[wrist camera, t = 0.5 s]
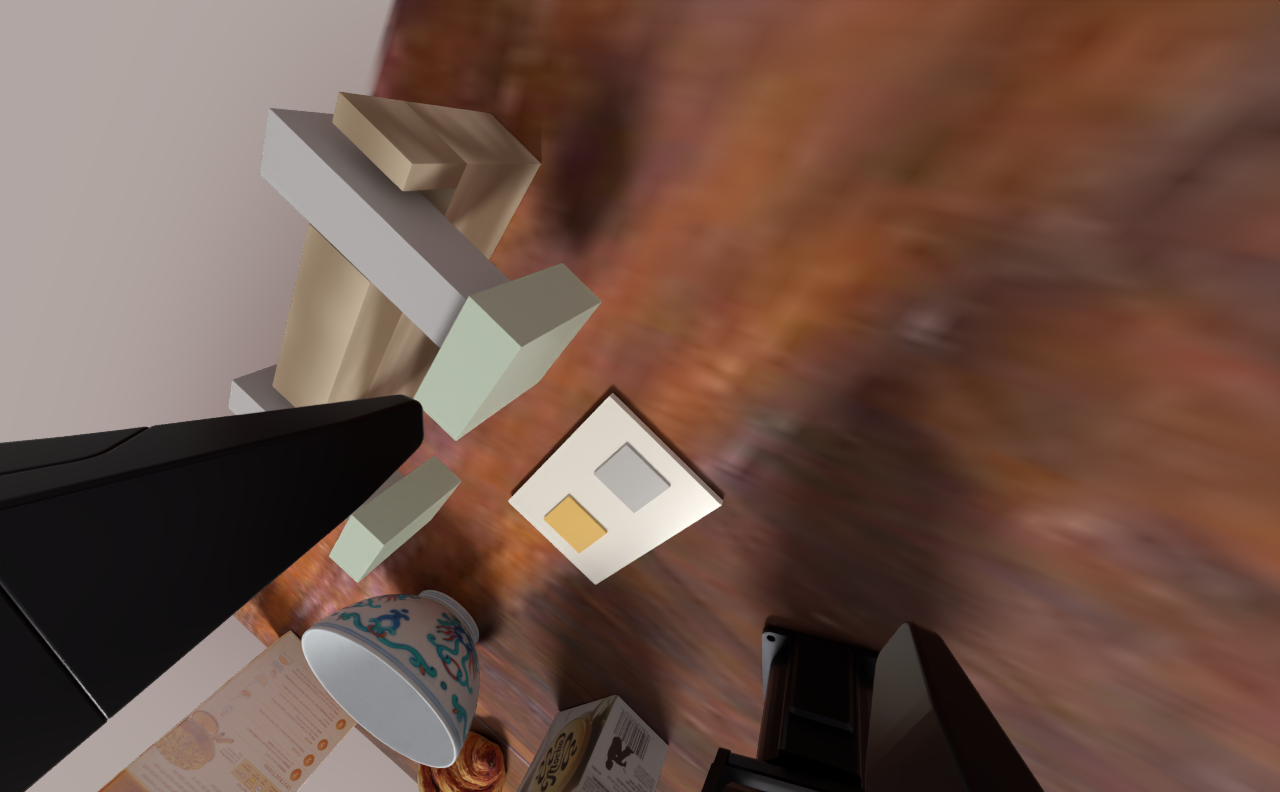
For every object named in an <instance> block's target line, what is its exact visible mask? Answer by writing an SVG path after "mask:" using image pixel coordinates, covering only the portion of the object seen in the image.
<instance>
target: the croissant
mask: <svg viewBox="0 0 1280 792" xmlns="http://www.w3.org/2000/svg"><path fill="white" fill-rule="evenodd" d="M505 775H506V772H505V767H504V758H503V754H502V751H501V749H500V747H499V746H498V745H497V744H495V743H493V742H491V741H489V740H488V739H487V738H486V737H483V736H481V735H480V734H477V733H475V732H473V731H469V732H468V735H467V737H466V740H465V742H464V744H463V747H462V749H461V751H460V753H459V755H458V757H457V759H456V761H455V762H454V763H453V764H452V765H451V766H449V767H445V768H436V767H431V766H427V765H424V764H421V763H419V766H418V772H417V781H418V788H419V791H420V792H501V791H502V789H503V786H504V782H505Z"/></svg>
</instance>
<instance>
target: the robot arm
mask: <svg viewBox="0 0 1280 792" xmlns="http://www.w3.org/2000/svg"><path fill="white" fill-rule="evenodd" d="M423 440H424V419H423V407H422V405H421V403H420V402H419V401H417V400H415V399H413V398H411V397H408V396H406V395H403V394H397V395H389V396H381V397H373V398H366V399H358V400H350V401H342V402H334V403H327V404H319V405H311V406H303V407H295V408H288V409H280V410H272V411H264V412H256V413H249V414H241V415H233V416H225V417H218V418H210V419H202V420H194V421H186V422H178V423H171V424H164V425H155V426H152V427H150V428H149V427H138V428H131V429H124V430H115V431H107V432H99V433H90V434H81V435H73V436H64V437H55V438H45V439H35V440H24V441H14V442H5V443H0V792H25V791H26V790H27V789H28V788H30V787H31V786H32V785H33V784H34V783H35V782H37V781H38V780H39V779H40V778H41V777H43V776H44V775H45V774H46V773H47V772H48V771H50V770H51V769H52V768H53V767H54V766H56V765H57V764H58V763H59V762H60V761H61V760H63V759H64V758H65V757H66V756H67V755H68V754H70V753H71V752H72V751H73V750H74V749H76V748H77V747H78V746H79V745H80V744H81V743H83V742H84V741H85V740H86V739H87V738H89V737H90V736H91V735H92V734H93V733H94V732H96V731H97V730H98V729H99V728H100V727H102V726H103V725H104V724H105V723H106V722H107V719H109V718H111V717H113V716H114V715H115V714H116V713H117V712H119V711H120V710H121V709H122V708H123V707H125V706H126V705H127V704H128V703H129V702H130V701H132V700H133V699H134V698H135V697H136V696H137V695H139V694H140V693H141V692H142V691H143V690H144V689H145V688H147V687H148V686H149V685H150V684H152V683H153V682H154V681H155V680H156V679H158V678H159V677H160V676H161V675H162V674H163V673H165V672H166V671H167V670H168V669H169V668H170V667H172V666H173V665H174V664H175V663H176V662H177V661H179V660H180V659H181V658H182V657H184V656H185V655H186V654H187V653H188V652H189V651H191V650H192V649H193V648H194V647H195V646H196V645H198V644H199V643H200V642H201V641H202V640H204V639H205V638H206V637H207V636H208V635H209V634H211V633H212V632H213V631H214V630H215V629H216V628H218V627H219V626H220V625H221V624H222V623H223V622H225V621H226V620H227V619H228V618H229V617H231V616H232V615H233V614H234V613H235V612H237V611H238V610H239V609H240V608H241V607H243V606H244V605H245V604H246V603H247V602H248V601H250V600H251V599H252V598H253V597H254V596H255V595H257V594H258V593H259V592H260V591H261V590H263V589H264V588H265V587H266V586H267V585H268V584H270V583H271V582H272V581H273V580H274V579H276V578H277V577H278V576H279V575H280V574H281V573H283V572H284V571H285V570H286V569H287V568H289V567H290V566H291V565H292V564H293V563H294V562H296V561H297V560H298V559H299V558H300V557H301V556H303V555H304V554H305V553H306V552H307V551H309V550H310V549H311V548H312V547H313V546H314V545H316V544H317V543H318V542H319V541H320V540H322V539H323V538H324V537H325V536H326V535H327V534H329V533H330V532H331V531H332V530H333V529H335V528H336V527H337V526H338V525H339V524H340V523H342V522H343V521H344V520H345V519H346V518H348V517H349V516H350V515H351V514H352V513H353V512H355V511H356V510H357V509H358V508H359V507H360V506H361V505H362V504H364V503H365V502H366V501H367V500H368V499H369V498H370V497H371V496H372V495H373V494H374V493H375V492H376V491H377V490H378V489H379V488H380V487H381V486H382V485H383V484H384V483H385V482H386V481H387V480H388V479H389V478H390V477H391V476H392V474H393V473H394V472H395V471H396V470H397V469H398V468H399V467H400V466H401V465H402V464H403V463H404V462H405V461H406V460H407V459H408V458H409V457H410V456H411V455H412V454H413V453H414V452H415V451H416V450H417V449H418V448H419V447H420V445H421V444H422V442H423ZM762 663H763V698H764V700H765V703H764V710H763V716H762V723H761V730H760V736H759V743H758V750H757V757H756V759H754V758H750V757H746V756H743V755H739V754H735V753H731V751H730V750H728V749H725V748H721V747H719V749H718V752H717V755H716V757H715V760H714V763H712V764H711V767H710V770H709V772H708V775H707V778H706V780H705V783H704V786H703V789H702V791H701V792H1044V790H1043V789H1042V787H1041V786H1040V784H1039V783H1038V781H1037V780H1036V778H1035V777H1034V775H1033V774H1032V772H1031V771H1030V769H1029V768H1028V766H1027V765H1026V763H1025V762H1024V760H1023V759H1022V757H1021V756H1020V754H1019V753H1018V751H1017V750H1016V748H1015V747H1014V745H1013V744H1012V742H1011V741H1010V739H1009V738H1008V736H1007V735H1006V733H1005V732H1004V730H1003V729H1002V727H1001V726H1000V724H999V723H998V721H997V720H996V718H995V717H994V715H993V714H992V712H991V711H990V709H989V708H988V706H987V705H986V703H985V702H984V700H983V699H982V697H981V696H980V694H979V693H978V691H977V690H976V688H975V687H974V685H973V684H972V682H971V681H970V679H969V678H968V676H967V675H966V673H965V672H964V670H963V669H962V667H961V666H960V664H959V663H958V661H957V660H956V658H955V657H954V655H953V654H952V652H951V651H950V649H949V648H948V646H947V645H946V643H945V642H944V640H943V639H942V638H941V637H940V636H939V635H938V634H937V633H936V632H934V631H932V630H930V629H927V628H925V627H923V626H921V625H919V624H916V623H914V622H910V621H907V622H905V623H903V624H902V625H901V626H900V627H899V628H898V630H897V631H896V632H895V633H894V635H893V636H892V637H891V638H890V640H889V641H888V642H887V643H886V645H885V646H884V647H883V649H882V650H881V651H880V652H876V651H872V650H867V649H863V648H859V647H855V646H851V645H847V644H843V643H838V642H834V641H830V640H826V639H822V638H818V637H814V636H809V635H805V634H801V633H797V632H793V631H789V630H785V629H780V628H776V627H772V626H766V627H764V629H763V633H762Z"/></svg>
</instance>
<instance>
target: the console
mask: <svg viewBox="0 0 1280 792" xmlns="http://www.w3.org/2000/svg"><path fill="white" fill-rule="evenodd" d="M332 123H333V124H334V125H335V126H336V127H337V128H338V129H339V130H340V131H341V132H342V133H344V134H345V135H346V136H347V137H348V138H349V139H350V140H351V141H352V142H353V143H354V144H355V145H356V146H357V147H358V148H359V149H360V150H361V151H362V152H363V153H364V154H365V155H366V156H367V157H368V158H369V159H370V160H371V161H372V162H373V163H374V164H375V165H376V166H377V167H378V168H379V169H380V170H381V171H382V172H383V173H384V174H385V175H386V176H387V177H388V178H389V179H391V180H392V181H393V182H394V183H395V184H396V185H397V186H398V187H399V188H400V189H401V190H402V191H415V190H418V191H419V192H420V193H421V194H422V195H423V196H424V197H425V198H426V199H427V200H428V201H429V202H430V203H431V204H432V205H433V206H434V207H435V208H436V209H437V210H438V211H439V212H441V213H442V214H443V215H444V216H445V217H446V218H447V219H448V220H449V221H450V222H451V223H452V224H453V225H454V226H455V227H456V228H457V229H458V230H459V231H460V232H461V233H462V234H463V235H464V236H465V237H466V238H467V239H468V240H469V241H470V242H471V243H472V244H473V245H474V246H475V247H476V248H477V249H478V250H479V251H480V252H481V253H482V254H483V255H484V256H485V257H486V258H487V259H488V260H489V259H490V257H491V255H492V253H493V252H494V250H495V248H496V246H497V244H498V242H499V241H500V239H501V237H502V235H503V233H504V231H505V229H506V228H507V226H508V224H509V222H510V220H511V218H512V217H513V215H514V213H515V211H516V209H517V207H518V206H519V204H520V202H521V200H522V198H523V196H524V194H525V193H526V191H527V189H528V187H529V185H530V183H531V182H532V180H533V178H534V176H535V174H536V172H537V170H538V169H539V167H540V165H541V163H540V162H539V161H538V160H537V159H536V158H535V157H534V156H533V155H532V154H531V153H530V152H529V151H528V150H527V149H526V148H525V147H524V146H523V145H522V144H521V143H520V142H519V141H518V140H517V139H516V138H515V137H514V136H513V135H512V134H511V133H510V132H509V131H508V130H507V129H506V128H505V127H504V126H503V125H502V124H501V123H500V122H499V121H498V120H497V119H496V118H495V117H494V116H493V115H492V114H491V113H485V112H478V111H471V110H464V109H457V108H450V107H443V106H436V105H429V104H422V103H415V102H408V101H401V100H394V99H387V98H380V97H373V96H366V95H359V94H351V93H345V92H339V94H338V99H337V103H336V107H335V112H334V116H333V121H332ZM439 350H440V348H439V347H438V346H437V345H436V344H435V343H434V342H433V341H432V340H431V339H430V338H429V337H428V336H427V335H426V334H425V333H424V332H423V331H422V330H421V329H419V328H418V327H417V326H416V325H415V324H414V323H413V322H412V321H411V320H410V319H409V318H408V317H407V316H406V315H405V314H404V313H403V312H402V311H401V310H400V309H399V308H398V307H397V306H396V305H395V304H394V303H393V302H392V301H390V300H389V299H388V298H387V297H386V296H385V295H384V294H383V293H382V292H381V291H380V290H379V289H378V288H377V287H376V286H375V285H374V284H373V283H372V282H371V281H370V280H369V279H368V278H367V277H366V276H365V275H364V274H363V273H361V272H360V271H359V270H358V269H357V268H356V267H355V266H354V265H353V264H352V263H351V262H350V261H349V260H348V259H347V258H346V257H345V256H344V255H343V254H342V253H341V252H340V251H339V250H338V249H337V248H336V247H335V246H334V245H333V244H331V243H330V242H329V241H328V240H327V239H326V238H325V237H324V236H323V235H322V234H321V233H320V232H319V231H318V230H317V229H316V228H315V227H314V226H313V225H312V224H309V226H308V231H307V235H306V240H305V244H304V248H303V253H302V257H301V262H300V267H299V270H298V275H297V279H296V284H295V288H294V293H293V297H292V301H291V306H290V311H289V315H288V319H287V323H286V328H285V332H284V337H283V341H282V345H281V350H280V354H279V359H278V363H277V367H276V372H275V376H274V381H273V385H272V386H273V387H274V388H275V389H276V390H277V391H278V392H279V393H280V394H281V395H282V396H283V397H285V398H286V399H287V400H288V401H289V402H290V403H291V404H292V405H293V406H294V407H303V406H311V405H319V404H327V403H334V402H342V401H350V400H358V399H366V398H373V397H381V396H389V395H397V394H403V395H406V396H408V397H411V398H414V396H415V395H416V393H417V391H418V389H419V387H420V385H421V383H422V382H423V380H424V378H425V376H426V374H427V372H428V371H429V369H430V367H431V365H432V363H433V361H434V359H435V358H436V356H437V354H438V352H439Z"/></svg>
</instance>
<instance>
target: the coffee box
mask: <svg viewBox="0 0 1280 792" xmlns="http://www.w3.org/2000/svg"><path fill="white" fill-rule="evenodd" d="M667 751H668V745H667V744H666V743H665V742H664V741H663V740H662V739H661V738H660V737H659V736H658V735H657V734H656V733H655V732H654V731H653V730H652V729H651V728H650V727H649V726H648V725H647V724H646V723H645V722H644V721H643V720H642V719H641V718H640V717H639V716H638V715H637V714H636V713H635V712H634V711H633V710H632V709H631V708H630V707H629V706H628V705H627V704H626V703H625V702H624V701H623V700H622V699H621V698H620V697H619V696H618V695H612V696H609V697H606V698H603V699H599V700H596V701H593V702H590V703H587V704H583V705H580V706H577V707H574V708H571V709H568V710H565V711H561V712H558V713H557V715H556V716H555V718H554V720H553V722H552V724H551V726H550V728H549V730H548V732H547V734H546V736H545V738H544V740H543V742H542V744H541V746H540V748H539V750H538V752H537V754H536V756H535V757H534V759H533V761H532V763H531V765H530V767H529V769H528V771H527V773H526V775H525V777H524V779H523V781H522V783H521V785H520V787H519V789H518V791H517V792H655V791H656V787H657V784H658V781H659V777H660V774H661V770H662V767H663V764H664V760H665V757H666V754H667Z"/></svg>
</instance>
